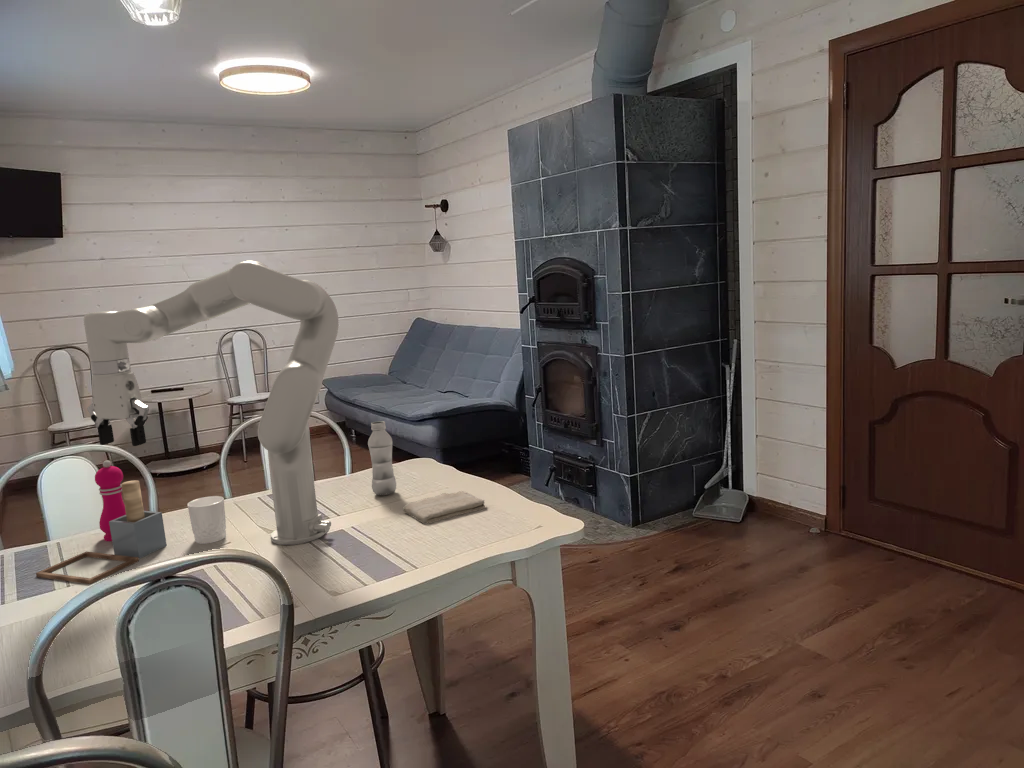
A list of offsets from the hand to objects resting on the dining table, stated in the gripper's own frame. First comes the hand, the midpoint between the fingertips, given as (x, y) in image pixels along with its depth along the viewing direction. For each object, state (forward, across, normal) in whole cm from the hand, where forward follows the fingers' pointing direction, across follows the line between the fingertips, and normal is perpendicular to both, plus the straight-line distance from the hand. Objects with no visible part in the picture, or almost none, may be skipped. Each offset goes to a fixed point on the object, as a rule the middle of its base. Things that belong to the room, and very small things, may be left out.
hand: (123, 444), depth 164 cm
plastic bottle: (+26, -34, -50) cm, 66 cm away
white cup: (+26, -11, -10) cm, 30 cm away
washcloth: (+27, -57, -41) cm, 75 cm away
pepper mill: (+26, +14, -6) cm, 30 cm away
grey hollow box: (+26, 0, 0) cm, 26 cm away
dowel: (+25, 0, 0) cm, 25 cm away
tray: (+26, +3, +11) cm, 28 cm away
